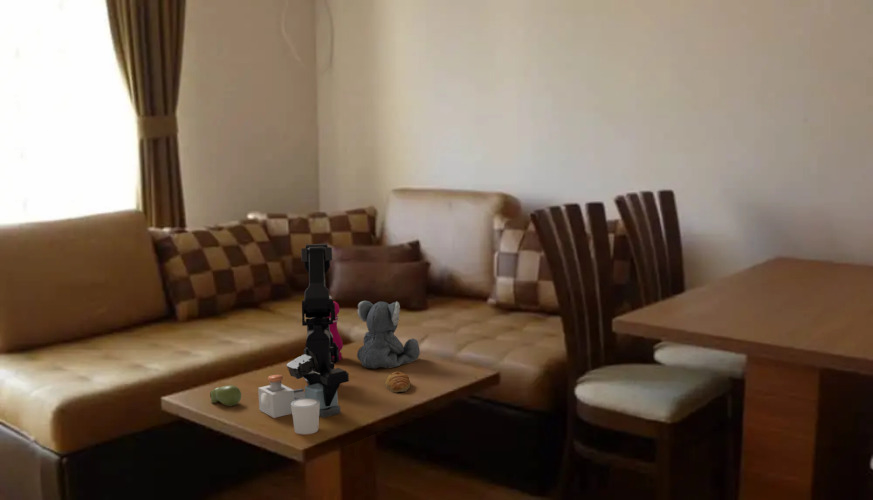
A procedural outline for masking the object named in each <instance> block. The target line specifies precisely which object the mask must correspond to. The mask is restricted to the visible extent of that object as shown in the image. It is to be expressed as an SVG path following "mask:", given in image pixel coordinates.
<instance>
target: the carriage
mask: <svg viewBox="0 0 873 500" xmlns="http://www.w3.org/2000/svg"><path fill="white" fill-rule="evenodd" d="M304 392H305V398H312V399H317V400H319V402H320V408H319V416H321V415H320V409H324V408H328V407H332V406H339V402H338V400H339V399H338V398H339V397H338V390H337V391H336V393H335V396H334V398H333V400H332V402H331V405H330V406H326V405H325V400H324V394H323V388H322V386H320V385H319V384H318V383H317V384H313V385H308V384H307V385H305V386H304Z"/></svg>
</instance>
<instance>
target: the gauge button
mask: <svg viewBox="0 0 873 500" xmlns="http://www.w3.org/2000/svg"><path fill="white" fill-rule="evenodd" d="M267 379H268V382H269V385H270V391H271V392H276V391H281V390H282V387H281V384H282V381H283V375H282V374H272V375H269V376H268V377H267Z"/></svg>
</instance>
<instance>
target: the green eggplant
mask: <svg viewBox="0 0 873 500" xmlns="http://www.w3.org/2000/svg"><path fill="white" fill-rule="evenodd" d="M209 397H210V401H211V403H212V404H215V403H218V402H220V403H221V404H222V405H225V406H228V407H233V406H235V405H237V404H239V403H240V401H241V399H242V392H241V390H240V388H239V387H238V386H236V385H232V384H229V385H223V386H218V387H215V388H214V389H212V390H210V393H209Z"/></svg>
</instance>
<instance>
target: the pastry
mask: <svg viewBox="0 0 873 500" xmlns="http://www.w3.org/2000/svg"><path fill="white" fill-rule="evenodd" d="M385 386H386V388H387V390H389V391H390V392H392V393H401V392H407V391H408V390H409V389H410V386H411V379H410V377H409V376H408V375H407V374H405V373H403V372H401V371H395V372H393V373H389V375H388V376H387V377H386V381H385Z"/></svg>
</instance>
